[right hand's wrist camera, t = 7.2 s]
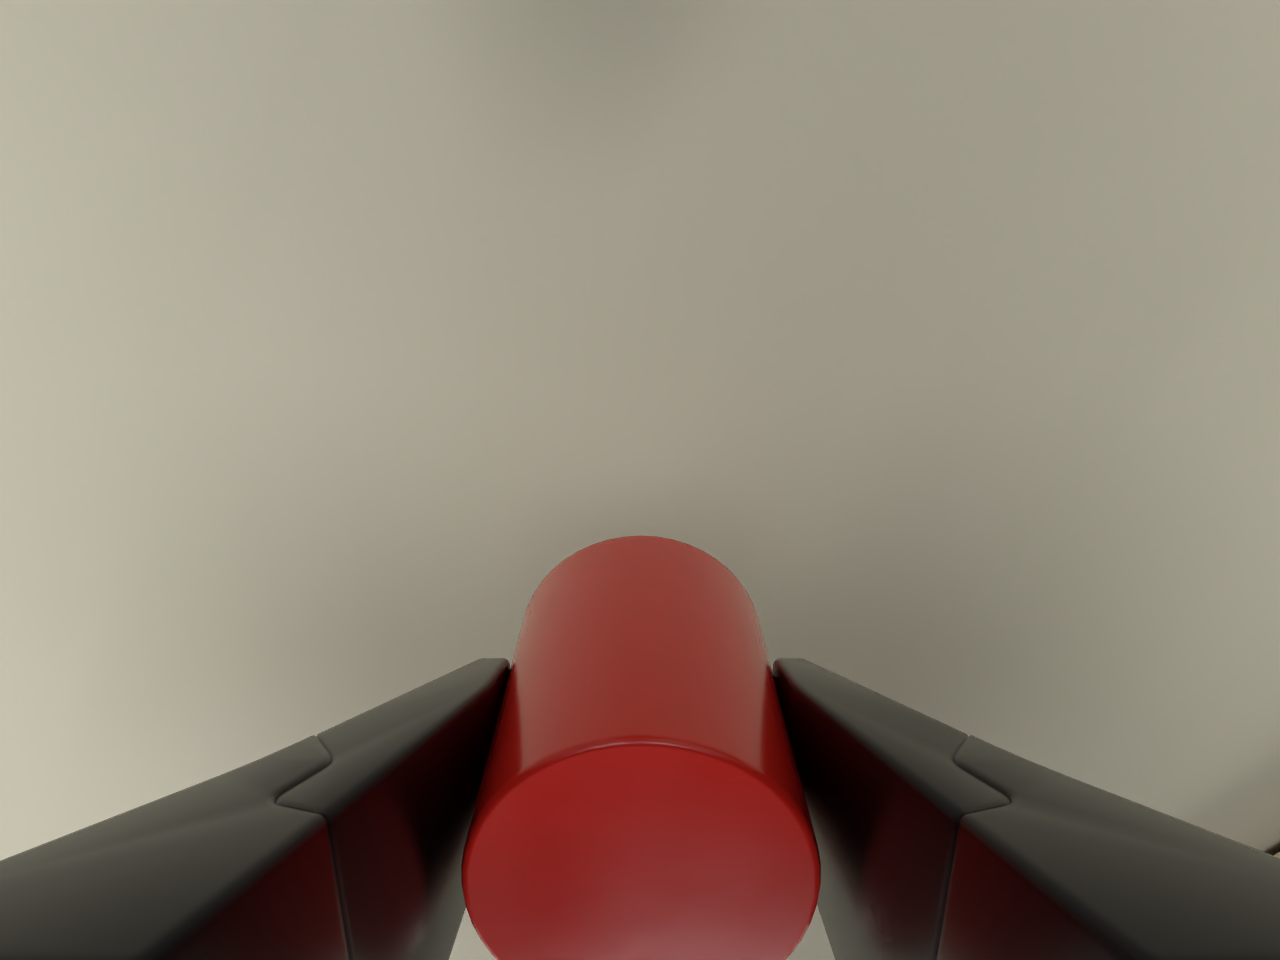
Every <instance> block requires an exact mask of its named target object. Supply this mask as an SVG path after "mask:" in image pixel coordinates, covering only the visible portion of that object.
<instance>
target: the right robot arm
mask: <svg viewBox="0 0 1280 960" xmlns="http://www.w3.org/2000/svg"><path fill="white" fill-rule="evenodd" d="M509 673H510V664H509V662H508V660H506V659H504V658H484V659H479V660H476V661H474V662H472V663H470V664H468V665H466V666H463V667H461V668H459V669H457V670H455V671H453V672H451V673H448V674H446V675H444V676H442V677H440V678H438V679H436V680H433V681H431V682H429V683H427V684H425V685H423V686H420V687H418V688H416V689H414V690H412V691H410V692H408V693H405V694H403V695H401V696H399V697H397V698H395V699H393V700H390V701H388V702H386V703H384V704H382V705H380V706H377V707H375V708H373V709H371V710H369V711H367V712H365V713H362V714H360V715H358V716H356V717H354V718H352V719H350V720H347V721H345V722H343V723H341V724H339V725H337V726H334V727H332V728H330V729H328V730H326V731H324V732H322V733H319V734H318V735H317V736H310V737H308V738H306V739H304V740H302V741H300V742H298V743H295V744H293V745H291V746H289V747H286V748H284V749H282V750H280V751H277V752H275V753H273V754H271V755H268V756H266V757H264V758H262V759H259V760H257V761H254V762H252V763H249V764H247V765H244V766H242V767H239V768H237V769H235V770H232V771H230V772H227V773H225V774H222V775H220V776H217V777H215V778H212V779H209V780H207V781H204V782H202V783H199V784H197V785H194V786H191V787H189V788H186V789H184V790H181V791H179V792H176V793H173V794H171V795H168V796H166V797H163V798H161V799H158V800H155V801H153V802H150V803H148V804H145V805H143V806H140V807H137V808H135V809H132V810H130V811H127V812H125V813H122V814H119V815H117V816H114V817H112V818H109V819H107V820H104V821H101V822H99V823H96V824H94V825H91V826H89V827H86V828H83V829H81V830H78V831H76V832H73V833H71V834H68V835H65V836H63V837H60V838H58V839H55V840H53V841H50V842H47V843H45V844H42V845H40V846H37V847H35V848H32V849H29V850H27V851H24V852H22V853H19V854H17V855H14V856H11V857H9V858H6V859H4V860H1V861H0V960H449V957H450V954H451V951H452V948H453V945H454V942H455V939H456V936H457V932H458V929H459V926H460V923H461V920H462V917H463V914H464V911H465V908H466V904H465V900H464V895H463V889H462V884H461V864H462V857H463V851H464V845H465V842H466V838H467V834H468V830H469V826H470V823H471V819H472V815H473V811H474V807H475V803H476V800H477V796H478V792H479V788H480V784H481V780H482V777H483V773H484V769H485V765H486V761H487V758H488V754H489V750H490V746H491V742H492V738H493V735H494V731H495V727H496V723H497V719H498V715H499V712H500V708H501V704H502V700H503V696H504V693H505V689H506V685H507V681H508V677H509ZM772 674H773V678H774V682H775V685H776V689H777V693H778V697H779V700H780V704H781V708H782V712H783V716H784V719H785V723H786V727H787V731H788V735H789V738H790V742H791V746H792V750H793V753H794V757H795V761H796V765H797V769H798V772H799V776H800V780H801V784H802V787H803V791H804V795H805V799H806V803H807V806H808V810H809V814H810V818H811V821H812V825H813V829H814V833H815V837H816V840H817V844H818V849H819V855H820V861H821V885H820V891H819V897H818V902H817V906H818V909H819V912H820V915H821V918H822V921H823V923H824V926H825V929H826V932H827V935H828V938H829V941H830V944H831V947H832V950H833V953H834V956H835V959H836V960H1280V858H1278V857H1275V856H1273V855H1270V854H1268V853H1265V852H1262V851H1260V850H1257V849H1255V848H1252V847H1249V846H1247V845H1244V844H1242V843H1239V842H1237V841H1234V840H1231V839H1229V838H1226V837H1224V836H1221V835H1218V834H1216V833H1213V832H1211V831H1208V830H1205V829H1203V828H1200V827H1198V826H1195V825H1192V824H1190V823H1187V822H1185V821H1182V820H1180V819H1177V818H1174V817H1172V816H1169V815H1167V814H1164V813H1161V812H1159V811H1156V810H1154V809H1151V808H1148V807H1146V806H1143V805H1141V804H1138V803H1136V802H1133V801H1130V800H1128V799H1125V798H1123V797H1120V796H1117V795H1115V794H1112V793H1110V792H1107V791H1104V790H1102V789H1099V788H1097V787H1094V786H1091V785H1089V784H1086V783H1084V782H1081V781H1079V780H1076V779H1073V778H1071V777H1068V776H1066V775H1063V774H1061V773H1058V772H1056V771H1053V770H1051V769H1048V768H1046V767H1043V766H1041V765H1038V764H1036V763H1033V762H1031V761H1028V760H1026V759H1024V758H1021V757H1019V756H1017V755H1014V754H1012V753H1010V752H1008V751H1005V750H1003V749H1001V748H998V747H996V746H994V745H992V744H989V743H987V742H985V741H983V740H981V739H978V738H976V737H974V736H968V735H967V734H965V733H963V732H961V731H959V730H957V729H954V728H952V727H950V726H948V725H946V724H943V723H941V722H939V721H937V720H935V719H933V718H930V717H928V716H926V715H924V714H922V713H920V712H917V711H915V710H913V709H911V708H909V707H907V706H904V705H902V704H900V703H898V702H896V701H894V700H891V699H889V698H887V697H885V696H883V695H881V694H878V693H876V692H874V691H872V690H870V689H868V688H865V687H863V686H861V685H859V684H857V683H855V682H852V681H850V680H848V679H846V678H844V677H842V676H839V675H837V674H835V673H833V672H831V671H829V670H826V669H824V668H822V667H820V666H818V665H816V664H813V663H811V662H809V661H807V660H805V659H800V658H779V659H777V660H776V661H775V662H774V664H773V673H772Z"/></svg>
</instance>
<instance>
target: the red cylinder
mask: <svg viewBox="0 0 1280 960" xmlns="http://www.w3.org/2000/svg"><path fill="white" fill-rule="evenodd" d="M461 884H462V889H463V895H464V900H465V904H466V908H467V910H468V913H469V916H470V919H471V921H472V924H473V926H474V928H475V930H476V931H477V933H478V935H479V937H480V939H481V940H482V942H483V943H484V944H485V946H486V947H487V948H488V950H489V951H490V952H491V954H492V955H493V956H494V957H495V958H496V959H497V960H785V959H786V958H787V957H788V956H789V955H790V954H791V953H792V951H793V950H794V949H795V947H796V946H797V945H798V943H799V942H800V941H801V939H802V938H803V936H804V934H805V932H806V930H807V928H808V926H809V924H810V923H811V920H812V917H813V914H814V911H815V908H816V905H817V902H818V897H819V891H820V885H821V861H820V855H819V849H818V844H817V840H816V837H815V833H814V829H813V825H812V821H811V818H810V814H809V810H808V806H807V803H806V799H805V795H804V791H803V787H802V784H801V780H800V776H799V772H798V769H797V765H796V761H795V757H794V753H793V750H792V746H791V742H790V738H789V735H788V731H787V727H786V723H785V719H784V716H783V712H782V708H781V704H780V700H779V697H778V693H777V689H776V685H775V682H774V678H773V674H772V670H771V666H770V663H769V659H768V655H767V651H766V648H765V644H764V640H763V636H762V632H761V629H760V625H759V621H758V617H757V614H756V611H755V608H754V605H753V603H752V601H751V599H750V597H749V595H748V593H747V591H746V590H745V589H744V587H743V586H742V584H741V583H740V581H739V580H738V579H737V578H736V577H735V576H734V575H733V574H732V572H731V571H730V570H729V569H728V568H726V567H725V566H724V565H723V564H722V563H720V562H719V561H718V560H717V559H715V558H713V557H712V556H710V555H709V554H707V553H705V552H704V551H702V550H700V549H697V548H695V547H693V546H691V545H688V544H685V543H682V542H679V541H675V540H672V539H667V538H661V537H653V536H629V537H621V538H615V539H610V540H606V541H603V542H600V543H597V544H594V545H591V546H589V547H587V548H584V549H582V550H580V551H578V552H576V553H575V554H573V555H572V556H570V557H568V558H567V559H565V560H564V561H563V562H561V563H560V564H559V565H558V566H557V567H555V568H554V569H553V570H552V571H551V572H550V573H549V574H548V575H547V576H546V578H545V579H544V580H543V581H542V582H541V584H540V585H539V587H538V588H537V590H536V591H535V592H534V595H533V597H532V599H531V601H530V603H529V605H528V607H527V610H526V614H525V617H524V620H523V624H522V628H521V631H520V635H519V639H518V643H517V647H516V651H515V654H514V658H513V662H512V666H511V670H510V673H509V677H508V681H507V685H506V689H505V693H504V696H503V700H502V704H501V708H500V712H499V715H498V719H497V723H496V727H495V731H494V735H493V738H492V742H491V746H490V750H489V754H488V758H487V761H486V765H485V769H484V773H483V777H482V780H481V784H480V788H479V792H478V796H477V800H476V803H475V807H474V811H473V815H472V819H471V823H470V826H469V830H468V834H467V838H466V842H465V845H464V851H463V857H462V864H461Z"/></svg>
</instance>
